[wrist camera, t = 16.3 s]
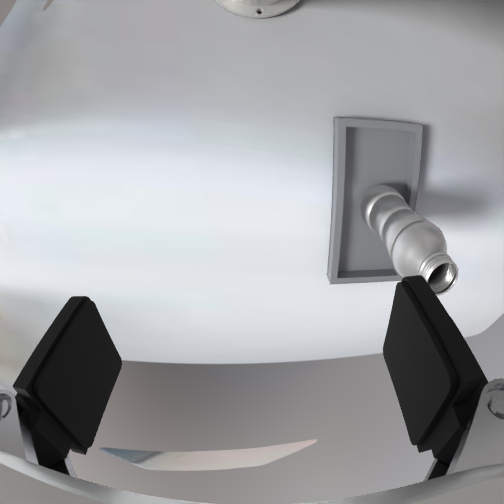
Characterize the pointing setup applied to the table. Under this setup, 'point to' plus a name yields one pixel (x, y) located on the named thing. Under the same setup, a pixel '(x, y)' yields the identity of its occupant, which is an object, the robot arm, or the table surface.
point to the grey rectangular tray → (358, 183)
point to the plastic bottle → (409, 238)
